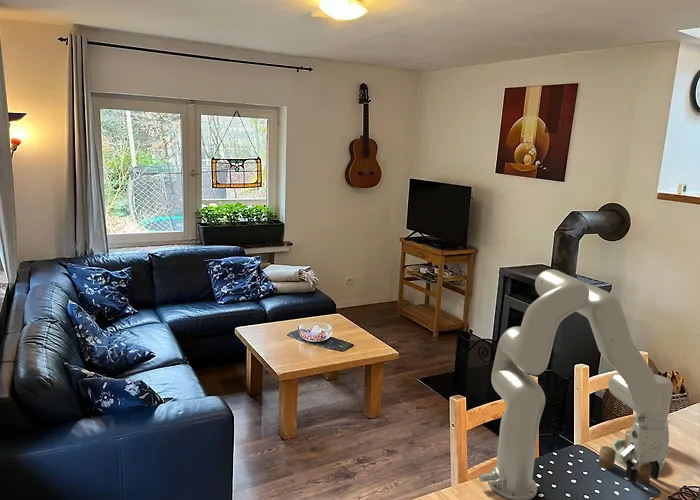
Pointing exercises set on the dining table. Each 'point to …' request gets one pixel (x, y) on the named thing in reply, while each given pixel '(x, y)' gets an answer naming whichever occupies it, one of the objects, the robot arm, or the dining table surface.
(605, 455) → the bead
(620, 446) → the tray
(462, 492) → the dining table surface
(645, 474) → the bead
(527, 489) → the robot arm
